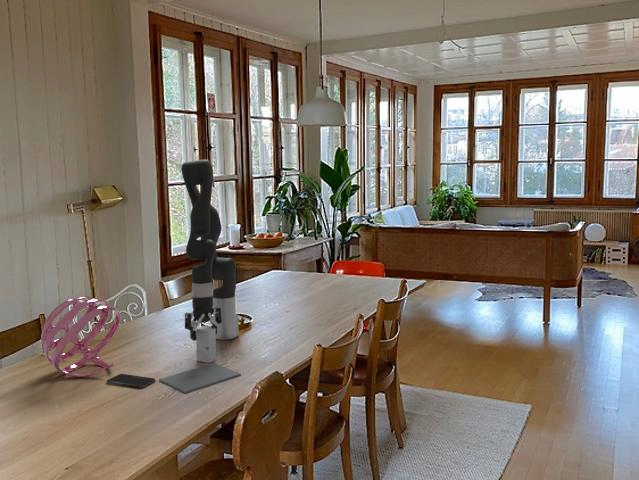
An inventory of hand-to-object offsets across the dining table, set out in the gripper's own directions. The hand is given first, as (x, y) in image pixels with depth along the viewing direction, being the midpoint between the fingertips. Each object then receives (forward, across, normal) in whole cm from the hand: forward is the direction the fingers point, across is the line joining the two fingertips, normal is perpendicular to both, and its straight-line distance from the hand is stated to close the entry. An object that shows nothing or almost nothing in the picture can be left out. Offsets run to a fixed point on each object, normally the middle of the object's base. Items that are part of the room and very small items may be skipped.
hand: (204, 337), depth 223 cm
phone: (+10, +29, +1) cm, 31 cm away
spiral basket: (+9, +36, -22) cm, 43 cm away
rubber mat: (+9, +11, +14) cm, 20 cm away
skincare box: (+9, -1, 0) cm, 9 cm away
